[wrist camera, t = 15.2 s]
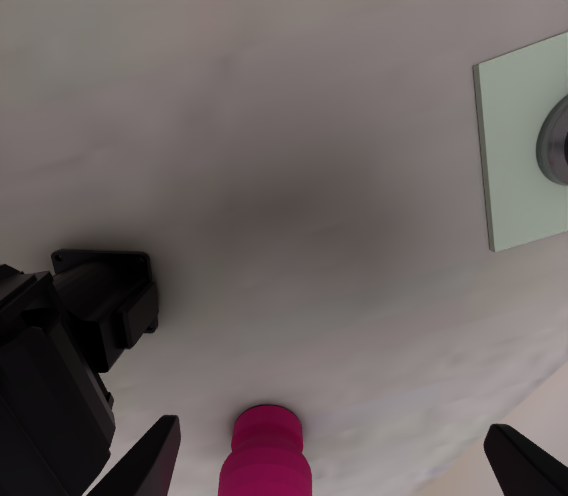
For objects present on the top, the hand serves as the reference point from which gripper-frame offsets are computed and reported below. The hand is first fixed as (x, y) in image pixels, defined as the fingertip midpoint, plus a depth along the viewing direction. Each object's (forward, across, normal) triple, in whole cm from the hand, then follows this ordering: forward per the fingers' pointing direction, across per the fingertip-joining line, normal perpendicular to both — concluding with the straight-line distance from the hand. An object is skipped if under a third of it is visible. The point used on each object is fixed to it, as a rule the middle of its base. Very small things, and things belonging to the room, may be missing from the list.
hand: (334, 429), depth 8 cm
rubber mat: (+13, -17, -9) cm, 23 cm away
